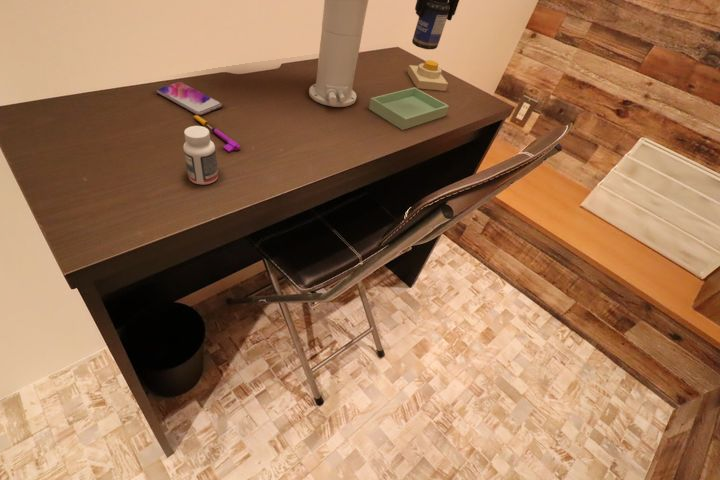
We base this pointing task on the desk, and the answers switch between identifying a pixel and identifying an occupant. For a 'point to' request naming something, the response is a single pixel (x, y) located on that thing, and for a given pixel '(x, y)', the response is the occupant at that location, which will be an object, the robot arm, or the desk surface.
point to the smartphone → (189, 98)
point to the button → (430, 65)
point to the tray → (408, 107)
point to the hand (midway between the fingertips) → (433, 15)
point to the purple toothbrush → (231, 143)
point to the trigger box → (427, 78)
